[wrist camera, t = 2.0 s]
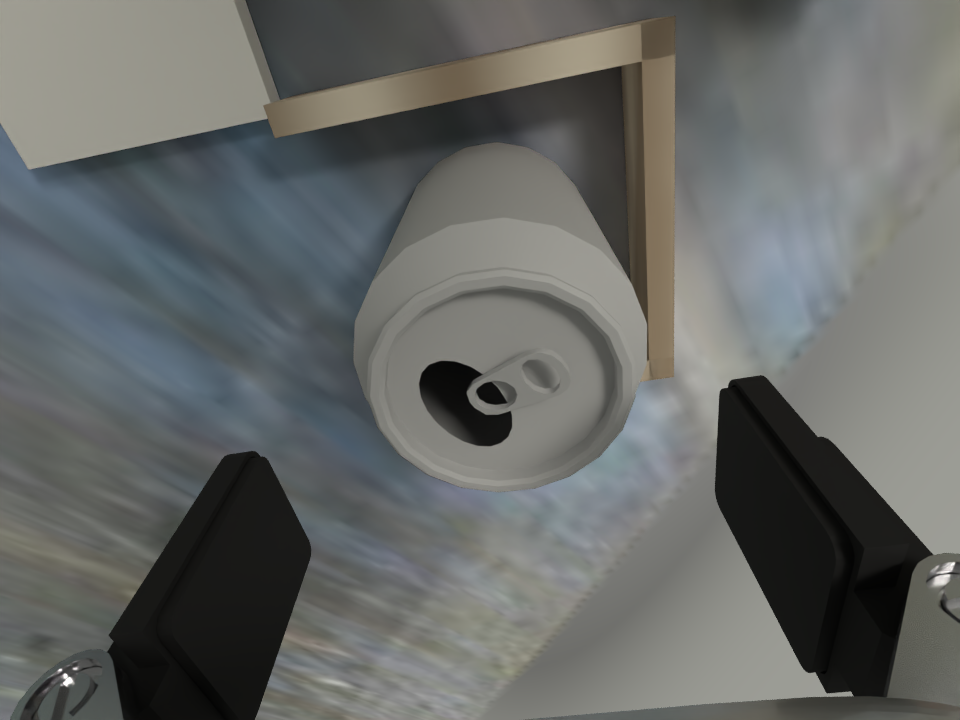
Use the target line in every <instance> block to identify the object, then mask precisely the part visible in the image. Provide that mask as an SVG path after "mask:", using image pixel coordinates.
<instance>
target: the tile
mask: <svg viewBox="0 0 960 720" xmlns="http://www.w3.org/2000/svg"><path fill="white" fill-rule="evenodd" d="M279 100H280V98H279V96H278V93H277V90H276V87H275V84H274V81H273V78H272V76H271V73H270V70H269V67H268V64H267V61H266V58H265V55H264V53H263V50H262V47H261V44H260V41H259V38H258V35H257V33H256V30H255V27H254V24H253V21H252V18H251V15H250V12H249V10H248V7H247V4H246V1H245V0H0V123H1V125H2V127H3V128H4V130H5V132H6V133H7V135H8V137H9V138H10V140H11V141H12V143H13V145H14V146H15V148H16V150H17V151H18V153H19V155H20V156H21V158H22V159H23V161H24V163H25V164H26V166H27V168H28V169H29V170H30V169H35V168H39V167H44V166H49V165H53V164H58V163H63V162H67V161H72V160H77V159H81V158H86V157H91V156H95V155H100V154H105V153H109V152H114V151H119V150H124V149H128V148H133V147H138V146H142V145H147V144H152V143H156V142H161V141H166V140H170V139H175V138H180V137H184V136H189V135H194V134H198V133H203V132H208V131H212V130H217V129H222V128H226V127H231V126H236V125H240V124H245V123H250V122H255V121H259V120H264V119H268V118H267V115H266V112H265V110H264V107H263V105H266V104H269V103H272V102H276V101H279Z"/></svg>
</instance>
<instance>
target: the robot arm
mask: <svg viewBox="0 0 960 720" xmlns="http://www.w3.org/2000/svg"><path fill="white" fill-rule="evenodd" d="M715 494H716V499H717V502H718V505H719V508H720V510H721V512H722V514H723V515H724V518H725V519H726V521H727V523H728V525H729V527H730V529H731V531H732V533H733V535H734V536H735V539H736V541H737V543H738V545H739V546H740V548H741V550H742V552H743V554H744V556H745V558H746V560H747V562H748V564H749V566H750V568H751V570H752V572H753V574H754V576H755V577H756V579H757V581H758V583H759V585H760V587H761V589H762V591H763V593H764V595H765V597H766V599H767V601H768V603H769V605H770V606H771V608H772V610H773V612H774V614H775V616H776V618H777V620H778V622H779V624H780V626H781V628H782V630H783V632H784V634H785V635H786V637H787V639H788V641H789V643H790V645H791V647H792V649H793V651H794V653H795V655H796V657H797V658H798V660H799V662H800V664H801V666H802V667H803V669H804V670H805V671H806V672H808V673H813V672H816V674H817V676H818V678H819V680H820V682H821V684H822V685H823V687H824V689H825V691H826V693H836V692H848V691H851V692H852V694H853V696H852V697H806V698H791V699H777V700H761V701H747V702H732V703H718V704H702V705H690V706H680V707H667V708H657V709H656V708H655V709H644V710H632V711H620V712H608V713H596V714H585V715H574V716H561V717H549V718H538V719H528V720H960V554H952V553H943V554H937V555H933V554H932V553H931V552H930V551H929V550H928V549H927V548H926V546H925V545H924V544H923V543H922V542H921V541H920V540H919V538H918V537H917V536H916V535H915V534H914V533H913V532H912V531H911V530H910V528H909V527H908V526H907V525H906V524H905V523H904V522H903V520H902V519H900V517H899V516H898V515H897V514H896V513H895V512H894V510H893V509H892V508H891V507H890V506H889V505H888V504H887V503H886V501H885V500H884V499H883V498H882V497H881V496H880V495H879V494H878V493H877V491H876V490H875V489H874V488H873V487H872V486H871V485H870V484H869V482H868V481H867V480H866V479H865V478H864V477H863V476H862V475H861V474H860V472H859V471H858V470H857V469H856V468H855V467H854V466H853V465H852V464H851V462H850V461H849V460H848V459H847V458H846V457H845V456H844V454H843V453H842V452H841V451H840V450H839V449H838V448H837V447H836V446H835V445H834V444H833V443H832V442H831V441H830V440H829V439H826V438H824V437H817V436H816V435H815V433H814V432H813V431H812V430H811V429H810V428H809V427H808V425H807V424H806V423H805V422H804V421H803V420H802V419H801V418H800V416H799V415H798V414H797V413H796V412H795V410H794V409H793V408H792V407H791V406H790V405H789V404H788V402H787V401H786V400H785V399H784V398H783V397H782V395H781V394H780V393H779V392H778V391H777V390H776V388H775V387H774V386H773V385H772V384H771V383H770V382H769V380H768V379H767V378H766V377H764V376H761V375H760V376H754V377H747V378H740V379H734V380H731V381H730V383H729V385H728V388H724V389H721V391H720V395H719V415H718V436H717V456H716V477H715ZM310 557H311V546H310V542H309V540H308V538H307V536H306V534H305V532H304V530H303V528H302V526H301V524H300V522H299V520H298V518H297V516H296V514H295V512H294V510H293V508H292V506H291V504H290V502H289V500H288V498H287V496H286V494H285V492H284V490H283V488H282V487H281V485H280V483H279V481H278V479H277V477H276V475H275V473H274V471H273V469H272V467H271V465H270V463H269V461H268V460H267V458H265V457H260V455H259V454H258V453H257V452H255V451H249V452H243V453H236V454H229V455H226V456H225V457H224V458H223V459H222V460H221V462H220V463H219V465H218V466H217V468H216V469H215V471H214V472H213V474H212V476H211V477H210V479H209V480H208V482H207V483H206V485H205V486H204V488H203V490H202V491H201V493H200V494H199V496H198V497H197V499H196V500H195V502H194V504H193V505H192V507H191V508H190V510H189V511H188V513H187V514H186V516H185V518H184V519H183V521H182V522H181V524H180V525H179V527H178V528H177V530H176V532H175V533H174V535H173V536H172V538H171V539H170V541H169V542H168V544H167V546H166V547H165V549H164V550H163V552H162V553H161V555H160V556H159V558H158V560H157V561H156V563H155V564H154V566H153V567H152V569H151V570H150V572H149V574H148V575H147V577H146V578H145V580H144V581H143V583H142V584H141V586H140V588H139V589H138V591H137V592H136V594H135V595H134V597H133V598H132V600H131V602H130V603H129V605H128V606H127V608H126V609H125V611H124V612H123V614H122V616H121V617H120V619H119V620H118V622H117V623H116V625H115V626H114V628H113V630H112V631H111V633H110V634H109V636H110V638H111V639H112V640H113V641H114V642H113V644H112V645H111V647H110V649H109V650H108V652H105V651H103V650H101V649H94V650H86V651H83V652H80V653H77V654H74V655H72V656H70V657H69V658H67V659H65V660H63V661H61V662H59V663H58V664H57V665H55V666H54V667H53V668H51V669H50V670H49V671H47V672H46V673H44V674H43V675H42V676H41V677H40V678H39V679H38V680H37V681H36V682H35V683H34V684H33V685H32V686H31V687H30V688H29V689H28V691H27V692H26V693H25V695H24V696H23V697H22V698H21V700H20V701H19V702H18V704H17V706H16V708H15V710H14V712H13V714H12V716H11V718H10V720H255V718H256V715H257V713H258V710H259V707H260V704H261V701H262V698H263V695H264V692H265V689H266V686H267V684H268V681H269V678H270V675H271V672H272V669H273V666H274V663H275V660H276V657H277V654H278V651H279V648H280V646H281V643H282V640H283V637H284V634H285V631H286V628H287V625H288V622H289V619H290V616H291V613H292V611H293V608H294V605H295V602H296V599H297V596H298V593H299V590H300V587H301V584H302V581H303V578H304V575H305V573H306V570H307V567H308V564H309V561H310Z"/></svg>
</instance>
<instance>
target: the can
mask: <svg viewBox="0 0 960 720" xmlns="http://www.w3.org/2000/svg"><path fill="white" fill-rule="evenodd" d="M353 362H354V365H355V368H356V372H357V375H358V378H359V381H360V384H361V387H362V390H363V393H364V396H365V399H366V400H367V401H368V402H369V404H370V406H371V409H372V412H373V416H374V419H375V422H376V425H377V427H378V429H379V430H380V431H381V432H382V434H383V435H384V436H385V438H386V439H387V440H388V442H389V443H390V444H391V445H392V447H393V448H394V449H395V451H396V452H397V453H398V454H399V455H400V456H401V457H403V458H404V459H406V460H407V461H409V462H410V463H411V464H413V465H414V466H416V467H417V468H418V469H420V470H421V471H423V472H424V473H425V474H427V475H429V476H432V477H434V478H437V479H440V480H442V481H445V482H448V483H450V484H453V485H456V486H458V487H461V488H468V489H476V490H484V491H492V492H505V491H515V490H525V489H535V488H538V487H541V486H543V485H546V484H549V483H552V482H555V481H558V480H561V479H564V478H567V477H569V476H571V475H573V474H574V473H576V472H577V471H579V470H580V469H582V468H583V467H585V466H586V465H588V464H589V463H591V462H592V461H594V460H595V459H597V458H598V457H600V456H601V455H602V453H603V452H604V451H605V450H606V449H607V448H608V446H609V445H610V444H611V443H612V442H613V440H614V439H615V438H616V437H617V436H618V435H619V433H620V432H621V431H622V430H623V428H624V425H625V423H626V420H627V417H628V415H629V412H630V410H631V407H632V405H633V402H634V399H635V393H636V390H637V388H638V385H639V383H640V380H641V378H642V375H643V372H644V370H645V367H646V365H647V322H646V320H645V317H644V315H643V312H642V309H641V307H640V304H639V302H638V299H637V296H636V294H635V291H634V288H633V286H632V284H631V282H630V280H629V278H628V277H627V275H626V273H625V271H624V270H623V268H622V266H621V264H620V263H619V261H618V259H617V257H616V256H615V254H614V252H613V250H612V249H611V247H610V245H609V243H608V242H607V240H606V238H605V236H604V235H603V233H602V231H601V229H600V228H599V226H598V224H597V223H596V221H595V219H594V217H593V216H592V214H591V212H590V210H589V209H588V207H587V205H586V203H585V202H584V200H583V198H582V196H581V195H580V193H579V191H578V189H577V188H576V186H575V185H574V183H573V182H572V181H571V180H570V179H569V178H568V177H567V175H566V174H565V173H564V172H563V171H562V170H561V169H560V167H559V166H558V165H557V164H556V163H555V162H553V161H551V160H550V159H548V158H546V157H544V156H543V155H541V154H539V153H537V152H535V151H534V150H532V149H530V148H528V147H523V146H517V145H511V144H505V143H500V142H494V143H488V144H482V145H476V146H470V147H465V148H463V149H462V150H460V151H458V152H456V153H454V154H452V155H450V156H449V157H447V158H445V159H443V160H441V161H439V162H438V163H437V164H436V165H435V166H434V167H433V168H432V169H431V171H430V172H429V173H428V174H427V175H426V176H425V177H424V178H423V179H422V180H421V181H420V182H419V184H418V185H417V187H416V189H415V191H414V193H413V196H412V198H411V200H410V202H409V204H408V206H407V208H406V211H405V213H404V215H403V217H402V219H401V221H400V223H399V225H398V228H397V230H396V232H395V234H394V236H393V238H392V240H391V243H390V245H389V247H388V249H387V251H386V253H385V255H384V258H383V260H382V262H381V264H380V266H379V268H378V270H377V273H376V275H375V277H374V279H373V281H372V283H371V286H370V288H369V290H368V293H367V295H366V297H365V299H364V302H363V304H362V306H361V309H360V311H359V313H358V315H357V318H356V320H355V330H354V355H353Z"/></svg>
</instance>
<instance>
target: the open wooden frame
mask: <svg viewBox="0 0 960 720" xmlns="http://www.w3.org/2000/svg"><path fill="white" fill-rule="evenodd" d="M618 66H621V70H622V94H623V118H624V141H625V165H626V189H627V212H628V236H629V259H630V282H631V284H632V286H633V288H634V291H635V294H636V296H637V299H638V302H639V304H640V307H641V309H642V312H643V315H644V317H645V320H646V322H647V365H646V367H645V370H644V372H643V375H642V378H641V380H640V382H642V381H649V380H655V379H662V378H669V377H674V206H675V16H671V17H661V18H650V19H645V20H640V21H636V22H631V23H627V24H622V25H617V26H613V27H608V28H604V29H599V30H594V31H590V32H585V33H581V34H576V35H571V36H567V37H562V38H558V39H553V40H548V41H544V42H539V43H535V44H530V45H525V46H521V47H516V48H512V49H507V50H502V51H498V52H493V53H489V54H484V55H479V56H475V57H470V58H466V59H461V60H456V61H452V62H447V63H443V64H438V65H434V66H429V67H424V68H420V69H415V70H411V71H406V72H401V73H397V74H392V75H388V76H383V77H378V78H374V79H369V80H365V81H360V82H355V83H351V84H346V85H342V86H337V87H332V88H328V89H323V90H319V91H314V92H309V93H305V94H300V95H296V96H291V97H288V98H285V99H282V100H279V101H276V102H272V103H269V104H266V105H263V107H264V110H265V112H266V115H267V118H268V121H269V123H270V126H271V129H272V131H273V134H274V137H275V138H278V137H283V136H288V135H292V134H297V133H302V132H307V131H312V130H316V129H321V128H326V127H331V126H335V125H340V124H345V123H350V122H355V121H359V120H364V119H369V118H374V117H378V116H383V115H388V114H393V113H398V112H402V111H407V110H412V109H417V108H422V107H426V106H431V105H436V104H441V103H445V102H450V101H455V100H460V99H465V98H469V97H474V96H479V95H484V94H488V93H493V92H498V91H503V90H508V89H512V88H517V87H522V86H527V85H531V84H536V83H541V82H546V81H551V80H555V79H560V78H565V77H570V76H574V75H579V74H584V73H589V72H594V71H598V70H603V69H608V68H613V67H618Z"/></svg>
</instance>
